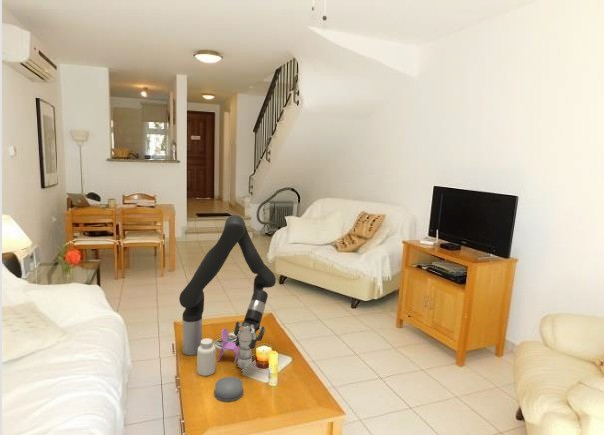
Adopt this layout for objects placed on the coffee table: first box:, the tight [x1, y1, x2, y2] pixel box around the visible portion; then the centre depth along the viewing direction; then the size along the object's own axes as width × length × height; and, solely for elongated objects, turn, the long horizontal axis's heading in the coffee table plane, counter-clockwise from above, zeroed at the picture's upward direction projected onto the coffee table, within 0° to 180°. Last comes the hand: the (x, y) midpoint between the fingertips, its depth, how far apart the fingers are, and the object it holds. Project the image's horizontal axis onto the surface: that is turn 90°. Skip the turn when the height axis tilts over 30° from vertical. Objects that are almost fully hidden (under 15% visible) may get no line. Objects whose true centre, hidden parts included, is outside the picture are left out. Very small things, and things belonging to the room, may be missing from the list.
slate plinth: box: [213, 376, 244, 403], centre depth 172 cm, size 12×12×4 cm
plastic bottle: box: [236, 324, 253, 370], centre depth 185 cm, size 6×7×20 cm
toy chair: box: [217, 328, 239, 364], centre depth 198 cm, size 8×9×15 cm
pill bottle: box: [196, 337, 217, 377], centre depth 187 cm, size 8×8×15 cm
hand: (244, 347), depth 183 cm, fingers closed on plastic bottle, 6 cm apart
